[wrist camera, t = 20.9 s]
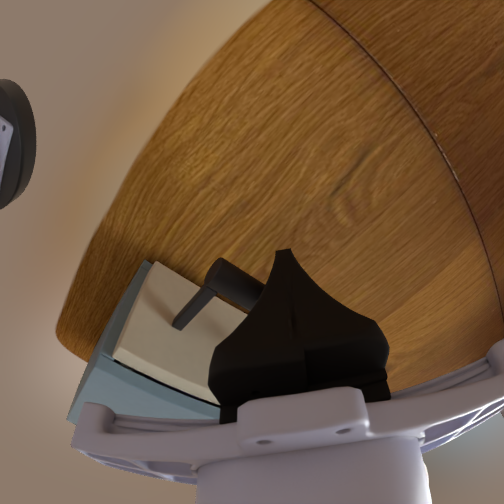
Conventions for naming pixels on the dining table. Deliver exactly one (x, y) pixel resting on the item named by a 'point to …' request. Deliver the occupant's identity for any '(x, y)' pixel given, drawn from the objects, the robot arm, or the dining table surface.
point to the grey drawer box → (130, 376)
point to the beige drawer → (184, 325)
